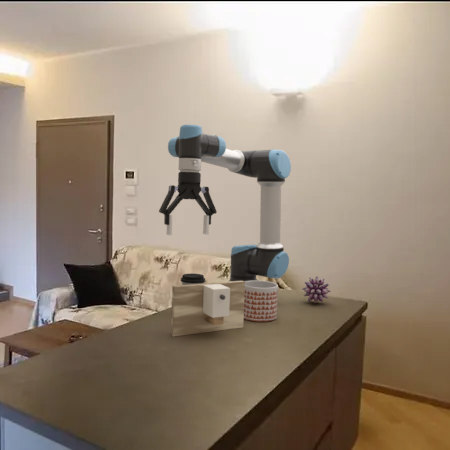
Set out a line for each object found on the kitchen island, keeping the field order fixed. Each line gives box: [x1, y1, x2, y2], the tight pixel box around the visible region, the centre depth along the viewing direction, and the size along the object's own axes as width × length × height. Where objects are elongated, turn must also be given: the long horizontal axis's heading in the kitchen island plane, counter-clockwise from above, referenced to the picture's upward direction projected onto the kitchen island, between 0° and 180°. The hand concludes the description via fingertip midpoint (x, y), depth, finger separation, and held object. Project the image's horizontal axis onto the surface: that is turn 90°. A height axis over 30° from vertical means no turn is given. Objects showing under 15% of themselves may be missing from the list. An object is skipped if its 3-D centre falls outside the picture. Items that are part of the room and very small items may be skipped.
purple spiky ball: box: [301, 275, 331, 304], centre depth 196 cm, size 12×12×12 cm
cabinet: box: [203, 284, 230, 318], centre depth 147 cm, size 8×6×9 cm
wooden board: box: [170, 281, 245, 337], centre depth 150 cm, size 8×26×16 cm, turn 118°
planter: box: [244, 279, 279, 323], centre depth 172 cm, size 14×14×13 cm
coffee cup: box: [180, 273, 206, 285], centre depth 171 cm, size 9×9×15 cm
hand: (187, 234), depth 155 cm, fingers open, 13 cm apart
